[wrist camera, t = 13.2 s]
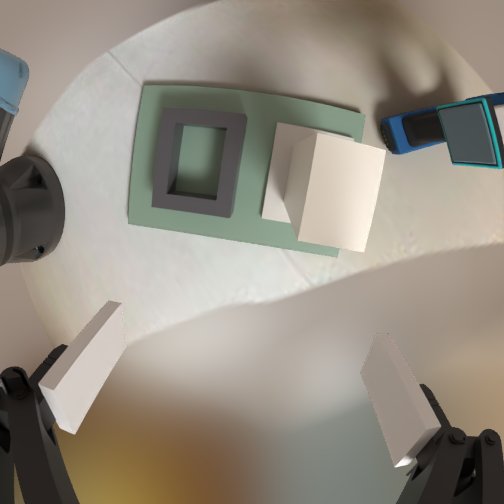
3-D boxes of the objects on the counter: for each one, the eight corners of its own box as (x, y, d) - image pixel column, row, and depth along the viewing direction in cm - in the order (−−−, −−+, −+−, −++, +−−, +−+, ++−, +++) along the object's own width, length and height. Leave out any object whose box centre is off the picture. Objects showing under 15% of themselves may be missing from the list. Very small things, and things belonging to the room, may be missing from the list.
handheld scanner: (359, 121, 28) (475, 95, 9) (462, 98, 25) (580, 88, 7) (372, 160, 29) (495, 183, 10) (472, 132, 26) (591, 143, 8)
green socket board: (131, 221, 32) (116, 230, 29) (147, 87, 27) (132, 79, 24) (335, 254, 32) (343, 267, 29) (362, 116, 27) (375, 111, 24)
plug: (283, 202, 29) (297, 240, 16) (293, 144, 27) (317, 133, 14) (321, 209, 29) (363, 252, 16) (332, 152, 27) (385, 150, 14)
